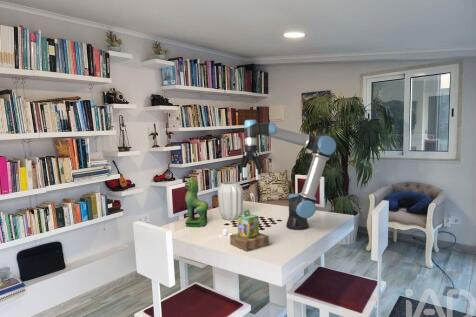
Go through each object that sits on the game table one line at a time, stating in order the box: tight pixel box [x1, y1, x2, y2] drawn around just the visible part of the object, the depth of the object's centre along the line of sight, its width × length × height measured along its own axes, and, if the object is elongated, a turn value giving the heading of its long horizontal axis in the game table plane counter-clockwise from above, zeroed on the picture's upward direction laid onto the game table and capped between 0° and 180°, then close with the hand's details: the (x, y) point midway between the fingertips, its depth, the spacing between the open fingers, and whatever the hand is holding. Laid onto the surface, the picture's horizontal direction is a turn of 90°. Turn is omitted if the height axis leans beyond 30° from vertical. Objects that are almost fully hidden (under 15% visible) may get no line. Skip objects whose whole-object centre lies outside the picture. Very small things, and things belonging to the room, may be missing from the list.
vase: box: [217, 181, 244, 221], centre depth 256 cm, size 20×20×28 cm
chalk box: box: [237, 209, 260, 238], centre depth 195 cm, size 9×9×15 cm
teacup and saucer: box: [218, 228, 234, 238], centre depth 214 cm, size 9×8×4 cm
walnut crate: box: [229, 232, 270, 253], centre depth 196 cm, size 16×16×6 cm
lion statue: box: [184, 176, 209, 228], centre depth 240 cm, size 14×17×35 cm
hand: (251, 178), depth 209 cm, fingers open, 13 cm apart
